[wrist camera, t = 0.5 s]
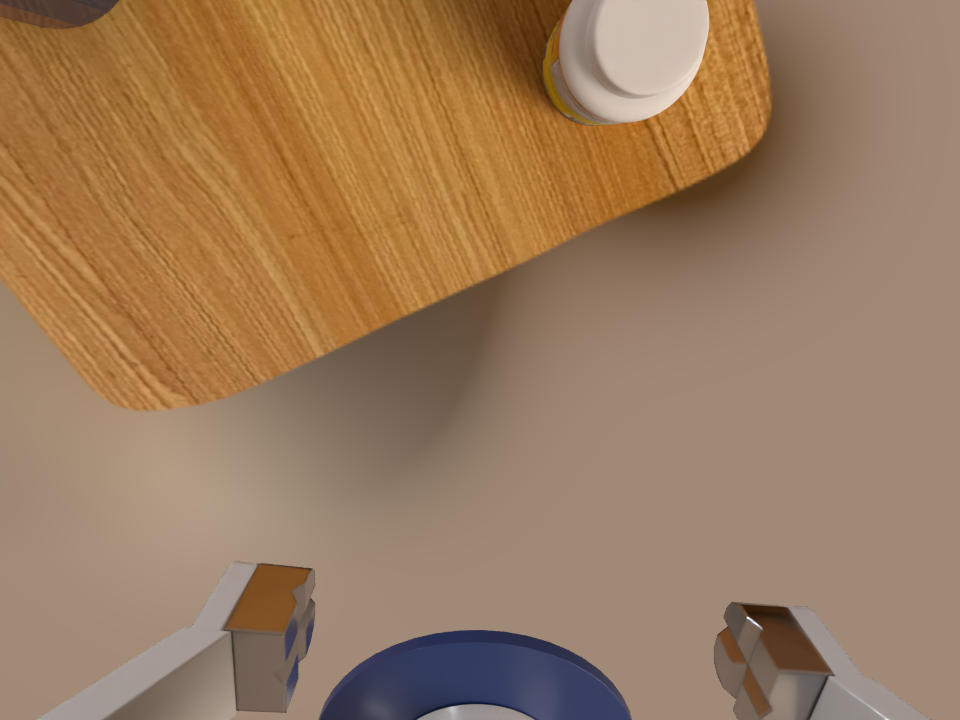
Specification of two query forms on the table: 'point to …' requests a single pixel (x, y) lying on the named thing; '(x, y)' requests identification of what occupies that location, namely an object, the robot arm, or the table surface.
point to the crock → (55, 12)
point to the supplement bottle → (623, 58)
